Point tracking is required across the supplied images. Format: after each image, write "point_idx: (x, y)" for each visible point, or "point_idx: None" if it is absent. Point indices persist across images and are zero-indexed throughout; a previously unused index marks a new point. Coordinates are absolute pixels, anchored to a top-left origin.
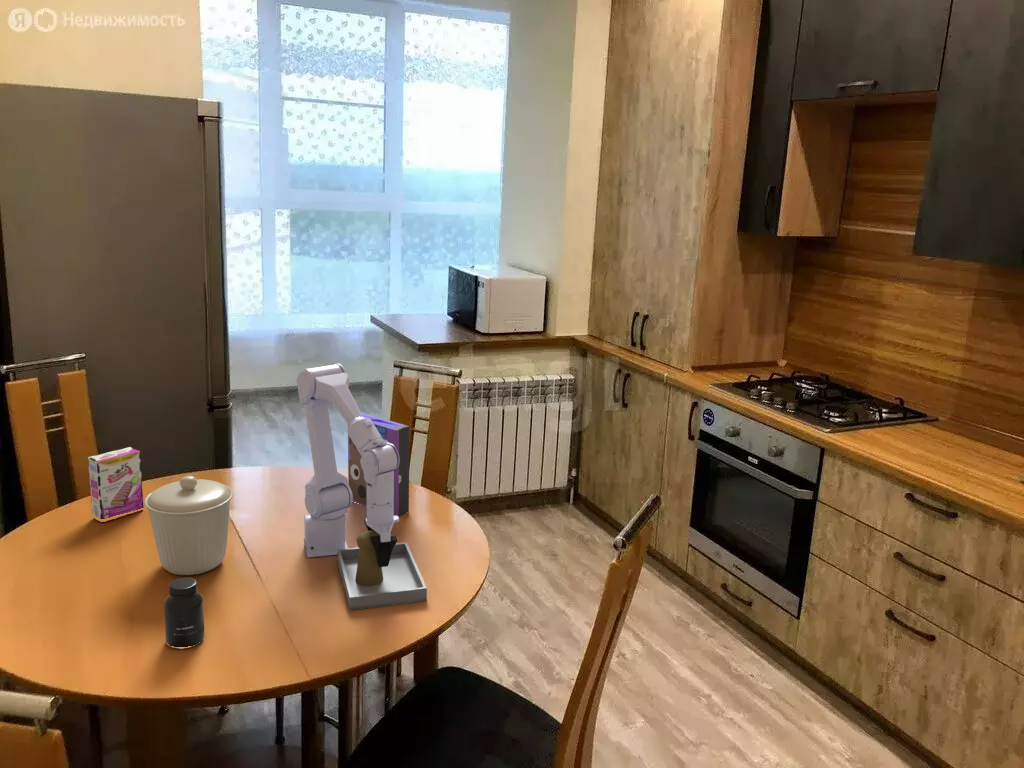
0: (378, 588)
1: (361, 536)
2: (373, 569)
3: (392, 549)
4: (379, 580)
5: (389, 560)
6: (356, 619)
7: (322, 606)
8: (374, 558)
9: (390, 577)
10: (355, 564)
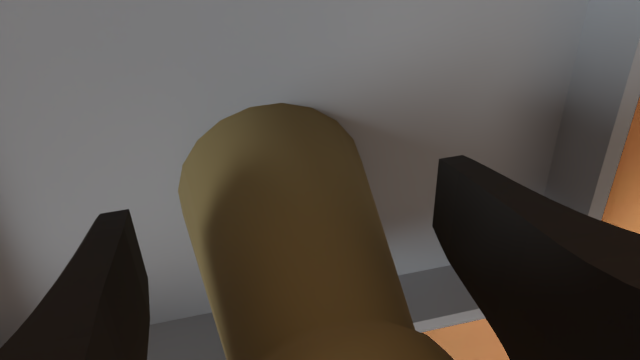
0: (401, 134)
1: None
2: (383, 230)
3: (632, 233)
4: (345, 139)
5: (501, 174)
6: (612, 217)
7: (453, 344)
8: (398, 283)
9: (267, 52)
10: (44, 277)
